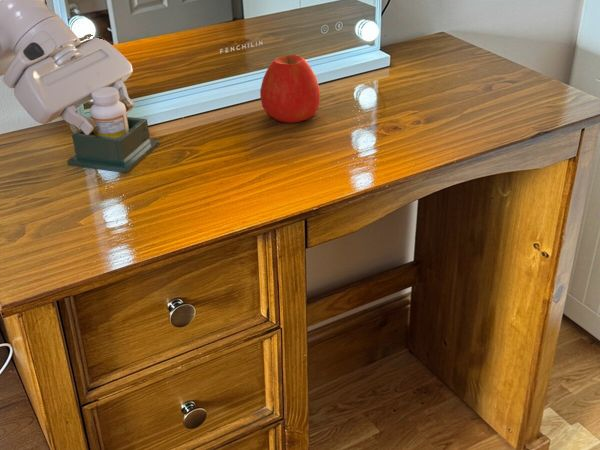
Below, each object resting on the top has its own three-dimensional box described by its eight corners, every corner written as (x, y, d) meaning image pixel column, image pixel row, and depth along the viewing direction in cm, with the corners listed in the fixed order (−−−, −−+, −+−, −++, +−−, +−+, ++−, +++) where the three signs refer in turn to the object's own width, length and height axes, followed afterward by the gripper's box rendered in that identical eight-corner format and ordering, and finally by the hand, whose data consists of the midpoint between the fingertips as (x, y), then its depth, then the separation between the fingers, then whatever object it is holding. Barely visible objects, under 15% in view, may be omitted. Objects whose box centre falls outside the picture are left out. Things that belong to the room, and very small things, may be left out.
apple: (280, 100, 138) (277, 43, 133) (331, 109, 134) (330, 51, 129) (251, 121, 131) (246, 62, 125) (304, 131, 126) (302, 70, 121)
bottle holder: (68, 165, 118) (62, 136, 116) (103, 137, 127) (98, 110, 124) (127, 173, 115) (122, 144, 113) (159, 144, 124) (155, 117, 121)
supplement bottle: (105, 141, 123) (95, 84, 118) (137, 143, 122) (128, 85, 117) (91, 156, 119) (80, 97, 114) (123, 158, 118) (114, 99, 113)
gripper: (86, 43, 126) (143, 107, 127) (-7, 84, 111) (58, 157, 112) (103, 19, 122) (161, 85, 123) (9, 58, 107) (76, 134, 108)
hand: (112, 120), depth 118 cm, fingers open, 8 cm apart
